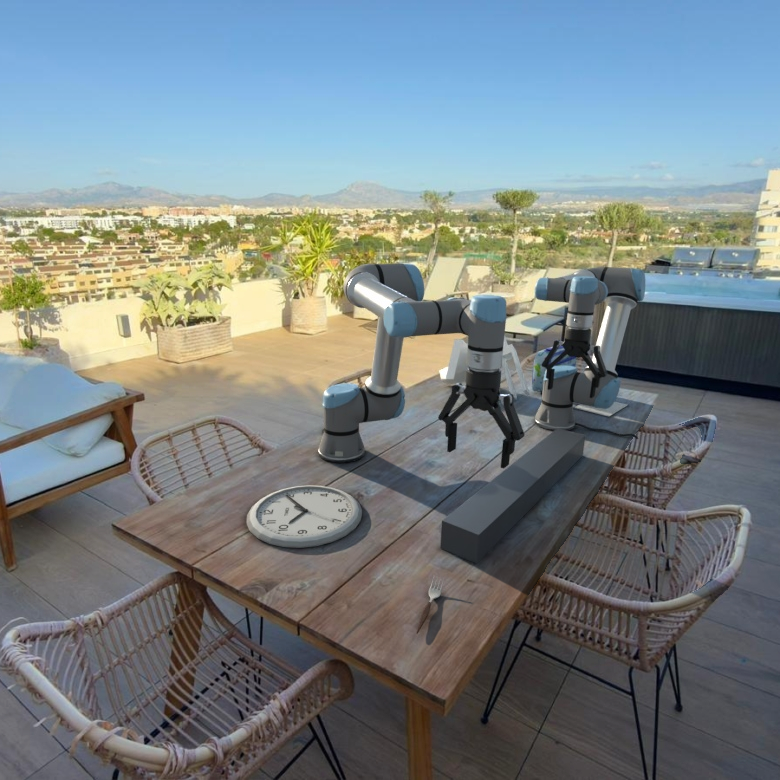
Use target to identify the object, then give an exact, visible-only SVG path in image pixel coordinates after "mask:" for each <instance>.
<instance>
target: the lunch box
mask: <svg viewBox="0 0 780 780" xmlns="http://www.w3.org/2000/svg"><path fill="white" fill-rule="evenodd" d="M552 348H553V346H550V347H546V348H545V349H542V350H539V351H538V352H537V353H536V354H535V356H534V358H533V365H532V376H531V377H532V378H531V390H532V391H533V392H537V393H542V391H543V381H544V380H543V379H544V375H545V371H546V368H545V367H542V366H541V364H542V363H543V361H544V360H545V358H546V357H547V355H548V354H549V352H550V351H551V349H552ZM564 351H565V349H564V348H563V345H561V347H559V348H558V349H557V351H556V352H555V354H554V355H553V357H552V358H551V360H550V361H549V363H548V364H550V363H552V362H553V361H554V360H555V359H556V358H557V357H558V356H559V355H561V353H563V352H564ZM576 362H577V358H576V357H569V356H568V355H566V356H565V357H564V358H563V359H562V360H561V361H559V362H558V363H557V364H556V365H555V366H574V367H576V364H577V363H576Z"/></svg>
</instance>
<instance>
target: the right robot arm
mask: <svg viewBox="0 0 780 780" xmlns="http://www.w3.org/2000/svg"><path fill="white" fill-rule="evenodd" d="M645 294H646V274H645V271H644V270H643V269H641V268H633V267H615V266H614V267H613V266H595V267H590V268H586V269H580V270H578V271H576V272H575V273H574V274H569V275H568V274H567V275H564V276H559V277H539V278H538V279H537V280H536V283H535V286H534V297H535V298H536V299H537V300H539V301H544V302H557V303H566V304H568V307H567V308H568V309H567V314H566V315H567V316H566V328H565V334H564V341H563V340H561V339H559V338H558V339H555V340H554V341H553V344H552V347H553V348H552V349H551V351H550V352H549V354H548V355H547V357H546V358H545V360H544V361H543V363H542V364H541V366H542V367H545V368H546V371H545V375H544V379H543V380H544V381H543V391H542V394H541V402H540V405H539V407H538V409H536V413H535V416H534V424H535V425H536V426H537V427H539V428H542V429H544V430H549V431H554V430H556V429H557V428H558V429H563V430H567V431H572V430H574V429H575V428H576V426H578V427H581V428H583V429H586V430H589V431H594V432H604V433H608V434H612V435H615V436H618V437H633V438H634V439H636V440H639V437H638V435H636V434H634V433H618V432H615V431H613V430H610V429H609V430H608V429H604V428H594V427H589V426H586V425H584V424H581V423H577V422H576V418H575V417H576V416H575V413H574V407H573V405H574V404H578V405H580V404H582V405H587V406H592V407H595V408H603V409H607V408H609V407H611V406H612V405H613V403H614V402H616V400H617V398H618V395H619V392H620V387H621V384H622V383H621V380H620V379H619V378H618V375H619V374H618V372H617V371H616V366H617V362H618V359H619V355H620V351H621V347H622V344H623V340H624V338H625V337H624V336H625V333H626V328H627V325H628V321H629V318H630V314H631V310H633V309H635V308H636V307H637V305H638V302H642V301H643V300H644V298H645ZM602 302H603V303H604V304H605V305H606V306H605V310H604V313H603V317H602V321H601V324H600V325H601V326H600V328H599V333H598V336H597V340H596V342H595V345H591V338H592V337H591V336H592V329H591V328H592V327H593V322H594V321H593V320H594V314H595V306H597V305H599V304H601V303H602ZM561 346H563V348H564V349H565V351H564V352H563V353H561V355H559V356H558V357H557V358H556V359H555V360H554V361H553V362H552V363H550V364H548V363H549V361H550V360H551V358H552V357H553V355H554V354H555V352H556V351H557V349H558V348H559V347H561ZM590 350H591V352H592V357H591V354H589V351H590ZM566 355H568V356H569V357H576V359H581V360H583V361H584V362H585V364H586V365H587V366H585V367H584V370H583V372H579V371H578V368H577V366H575V367H574V366H555V365H556V364H557V363H558V362H559V361H561V360H562V359H563V358H564V357H565V356H566Z"/></svg>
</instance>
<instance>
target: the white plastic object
mask: <svg viewBox="0 0 780 780" xmlns="http://www.w3.org/2000/svg"><path fill="white" fill-rule="evenodd" d="M467 352H468V343H466V342H465V340H464V339H463V338H460V339H458V338H454V340H453V344H452V349H451V353H450V357H449V362H448V366H446V367H444V368H442V369H440V370H439V371H438V372H439V376H440V381H442V383H443V384H444V385H445V386H449V385H456V384H458V383H461V384H466V369H467V368H468V366H467ZM510 360H513V363H514V366H515V369H516V372H517V376H518V380H519V382H520V385H521V389H522V391H523V393H524V395H525V396H526V397H528V396H531V395H530V390H529V388H528V387H529V386H528V384H527V381H526V378H525V375H524V371H523V369H522V368H523V367H522V366H521V362H520V359H519V355H518V352H517V349H516V347H515V346H514V345H513V343H511V344H508V341H507V337H506V334H505V335H504V345H503V357H502V367H501V368H502V370H503V373H504V376H505V380H506V383H507V386H508V390H509V393H510V394H513V397H514V399H515V400H517V392H516V391H517V390H516V388H515V385H514V381H513V378H512V375H511V371H510V369H509V365H508V361H510Z"/></svg>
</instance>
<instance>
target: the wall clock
mask: <svg viewBox="0 0 780 780" xmlns="http://www.w3.org/2000/svg"><path fill="white" fill-rule="evenodd" d="M362 516H363V509H362V507H361V504H360V503H359V501H358V500H357V499H356V498H355V497H354V496H352V495H350V494H349V493H348V492H346V491H344V490H341V489H338V488H335V487H330V486H325V485H311V484H310V485H309V484H307V485H296V486H290V487H287V488H286V487H285V488H282V489H280V490H276V491H274V492H271V493H268V494H267V495H266V496H264V497H262V498H260V499H259V500H257V502H255V504H253V505H252V506H251V507H250V509H249V511H248V513H247V514H246V526H247V528H248V531H249V532H250V534H252V535H253V536H254V537H255V538H256V539H258V540H260V541H262V542H265V543H267V544H269V545H272V546H277V547H282V548H294V549H295V548H297V549H301V548H302V549H304V548H312V547H318V546H322V545H327V544H330V543H333V542H336V541H338V540H340V539H343V538H344V537H346V536H348V535H349V534H351V533H352V532H353V531H354V530H355V529H357V527H358V525H360V522H361V521H362Z"/></svg>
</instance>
